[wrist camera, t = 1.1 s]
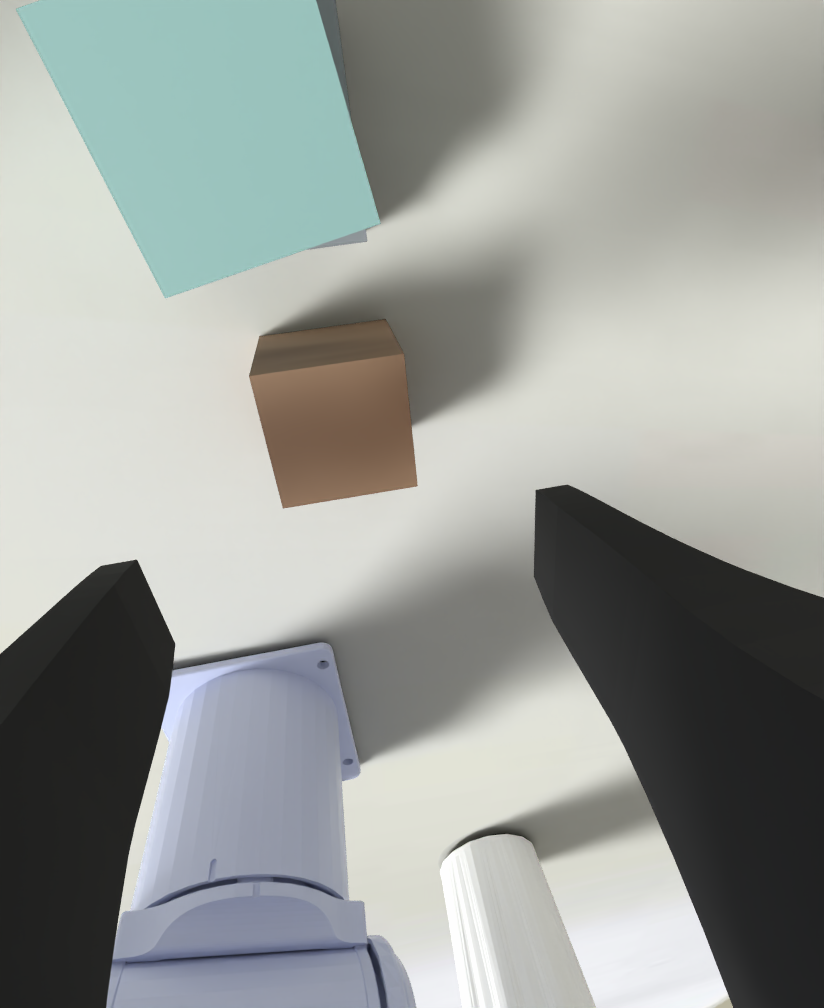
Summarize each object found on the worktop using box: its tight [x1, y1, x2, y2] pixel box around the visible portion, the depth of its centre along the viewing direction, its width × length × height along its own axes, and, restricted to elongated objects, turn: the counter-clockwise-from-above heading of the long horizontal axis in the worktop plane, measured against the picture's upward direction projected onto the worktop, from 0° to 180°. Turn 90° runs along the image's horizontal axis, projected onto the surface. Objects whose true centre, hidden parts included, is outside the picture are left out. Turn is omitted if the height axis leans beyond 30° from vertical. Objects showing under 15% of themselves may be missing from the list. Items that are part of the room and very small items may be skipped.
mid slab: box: [16, 0, 381, 298], centre depth 12 cm, size 5×5×2 cm
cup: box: [440, 834, 596, 1008], centre depth 30 cm, size 8×8×14 cm
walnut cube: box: [249, 319, 418, 508], centre depth 17 cm, size 4×4×4 cm
